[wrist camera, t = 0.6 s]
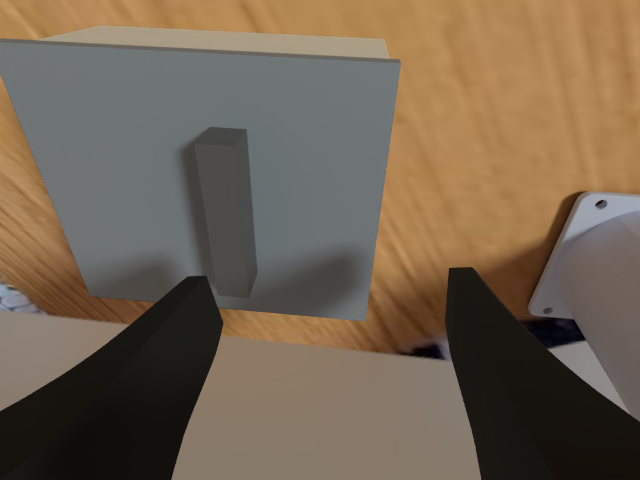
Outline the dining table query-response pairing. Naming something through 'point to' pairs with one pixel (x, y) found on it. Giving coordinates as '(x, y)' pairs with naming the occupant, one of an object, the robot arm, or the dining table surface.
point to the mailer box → (228, 41)
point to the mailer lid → (211, 168)
